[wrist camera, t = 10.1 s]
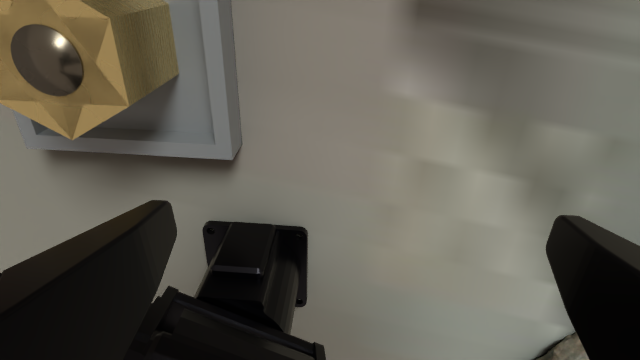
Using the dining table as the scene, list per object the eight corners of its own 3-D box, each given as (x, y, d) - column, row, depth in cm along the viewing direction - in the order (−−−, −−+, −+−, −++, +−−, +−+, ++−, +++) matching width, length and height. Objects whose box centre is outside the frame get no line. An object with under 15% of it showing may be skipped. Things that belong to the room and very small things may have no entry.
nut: (183, 104, 20) (136, 144, 16) (81, 99, 21) (7, 137, 16) (162, -36, 17) (96, -34, 13) (42, -40, 17) (-64, -39, 13)
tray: (242, 144, 22) (232, 159, 20) (52, 133, 22) (26, 148, 21) (223, -97, 16) (207, -104, 15) (-27, -102, 17) (-71, -110, 15)
